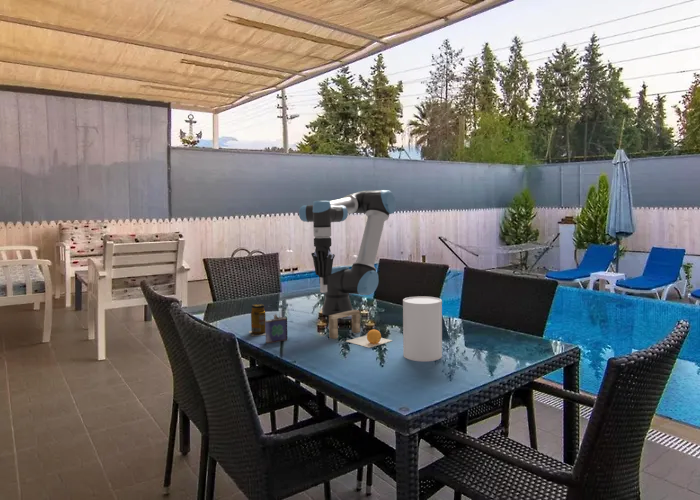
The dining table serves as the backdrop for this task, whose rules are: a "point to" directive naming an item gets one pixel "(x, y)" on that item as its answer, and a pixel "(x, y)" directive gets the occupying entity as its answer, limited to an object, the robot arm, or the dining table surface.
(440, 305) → the canister
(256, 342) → the dining table surface
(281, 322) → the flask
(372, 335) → the ball
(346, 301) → the robot arm
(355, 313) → the bridge
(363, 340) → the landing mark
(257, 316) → the condiment
